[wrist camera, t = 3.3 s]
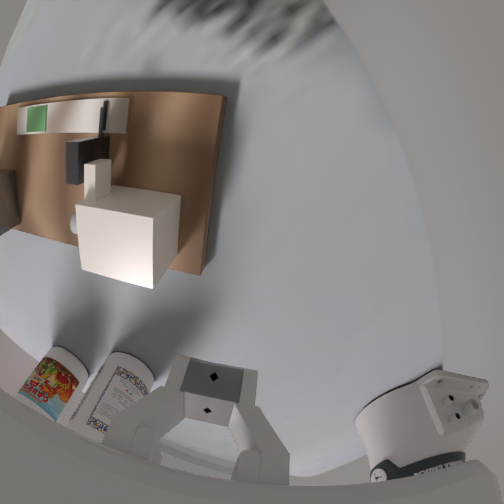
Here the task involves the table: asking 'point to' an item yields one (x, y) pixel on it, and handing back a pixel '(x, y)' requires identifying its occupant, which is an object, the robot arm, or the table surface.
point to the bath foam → (110, 394)
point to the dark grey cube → (8, 201)
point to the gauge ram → (125, 228)
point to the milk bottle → (54, 384)
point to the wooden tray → (117, 157)
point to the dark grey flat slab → (85, 153)
